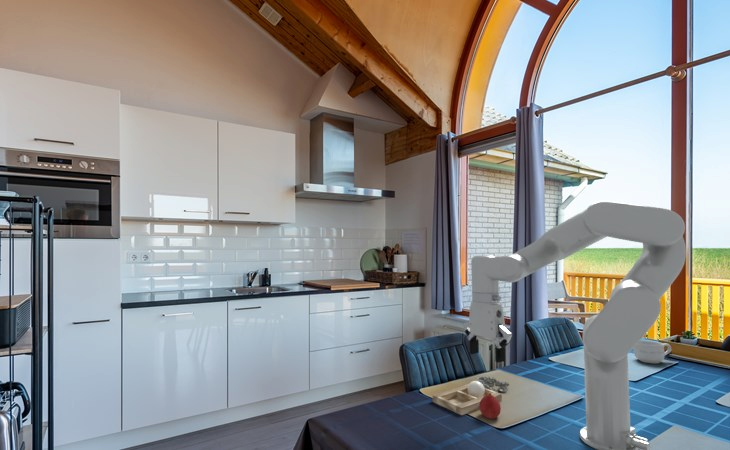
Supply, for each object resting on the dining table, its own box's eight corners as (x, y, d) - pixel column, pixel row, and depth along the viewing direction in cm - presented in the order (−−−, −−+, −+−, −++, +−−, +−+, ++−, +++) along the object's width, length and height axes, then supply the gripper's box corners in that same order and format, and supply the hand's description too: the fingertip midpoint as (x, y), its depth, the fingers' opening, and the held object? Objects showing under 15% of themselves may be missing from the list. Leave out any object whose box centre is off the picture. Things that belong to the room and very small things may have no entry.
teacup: (638, 364, 161) (637, 344, 162) (629, 357, 172) (628, 338, 172) (679, 367, 157) (678, 346, 157) (667, 359, 167) (666, 340, 168)
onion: (475, 418, 114) (474, 390, 114) (490, 414, 116) (490, 386, 116) (489, 426, 108) (488, 397, 109) (505, 422, 111) (504, 393, 111)
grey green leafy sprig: (511, 396, 130) (510, 384, 130) (489, 398, 129) (489, 385, 129) (496, 385, 141) (495, 373, 141) (476, 386, 140) (475, 374, 140)
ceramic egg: (488, 398, 125) (488, 381, 125) (477, 402, 122) (477, 385, 122) (475, 393, 129) (475, 377, 129) (464, 397, 126) (464, 380, 126)
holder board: (502, 404, 123) (501, 394, 123) (462, 419, 113) (461, 408, 113) (471, 392, 133) (471, 382, 133) (432, 405, 123) (432, 395, 123)
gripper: (518, 300, 110) (520, 363, 109) (472, 293, 125) (473, 348, 124) (500, 302, 106) (501, 367, 105) (454, 295, 121) (456, 352, 120)
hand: (486, 357), depth 115 cm, fingers open, 9 cm apart
